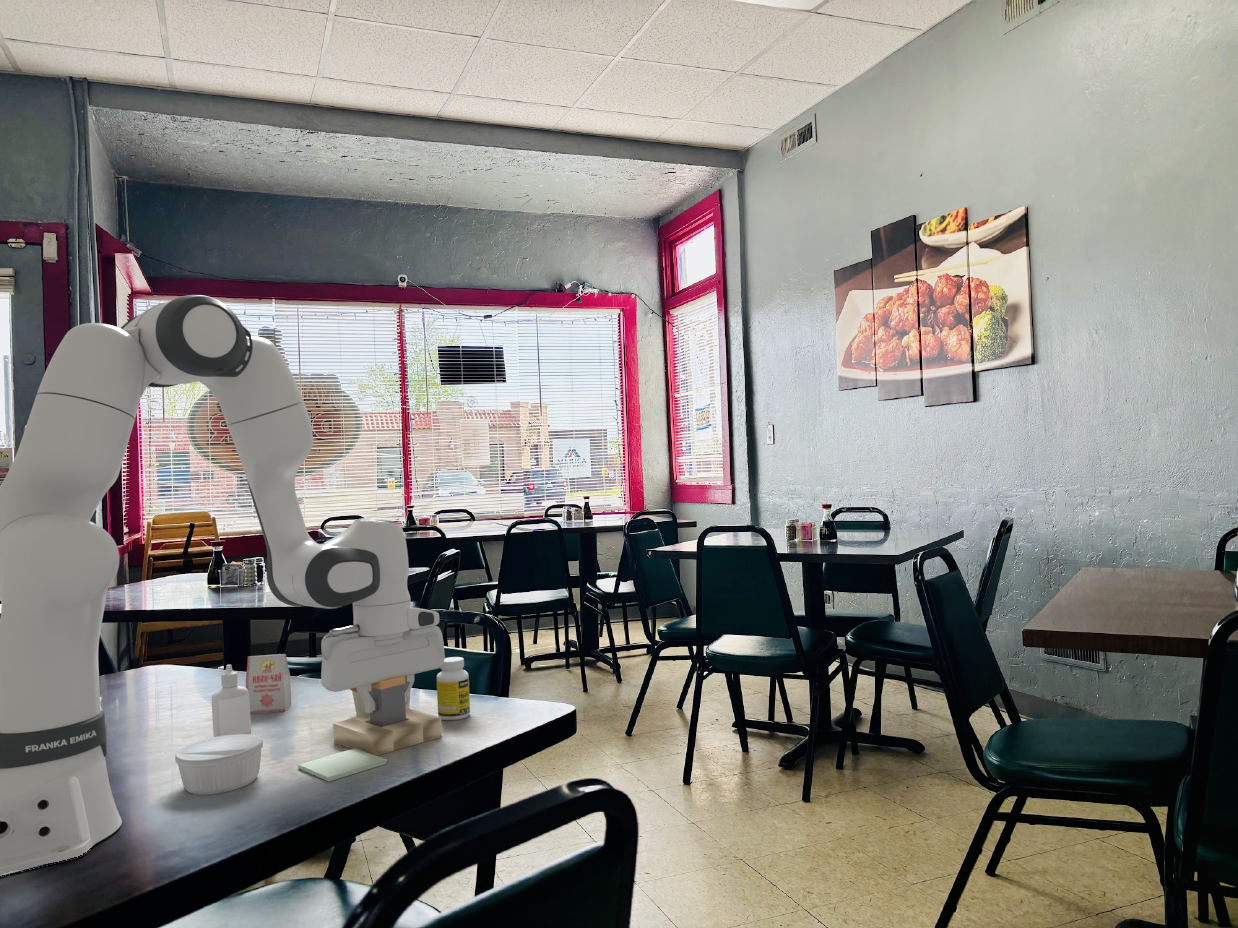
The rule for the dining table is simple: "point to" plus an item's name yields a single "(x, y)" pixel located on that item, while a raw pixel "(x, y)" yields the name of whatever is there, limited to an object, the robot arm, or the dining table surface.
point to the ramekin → (220, 763)
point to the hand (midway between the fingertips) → (387, 707)
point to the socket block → (387, 732)
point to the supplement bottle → (453, 690)
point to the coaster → (342, 764)
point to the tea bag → (268, 683)
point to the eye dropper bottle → (231, 707)
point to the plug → (388, 701)
